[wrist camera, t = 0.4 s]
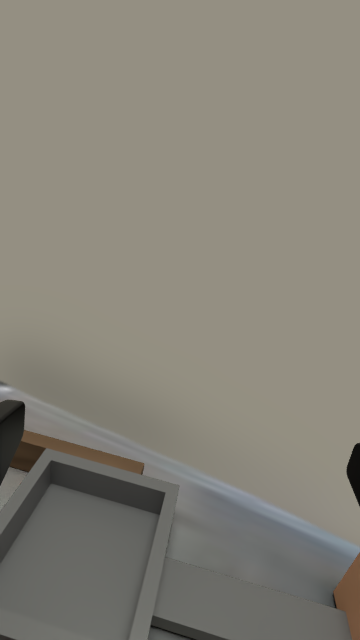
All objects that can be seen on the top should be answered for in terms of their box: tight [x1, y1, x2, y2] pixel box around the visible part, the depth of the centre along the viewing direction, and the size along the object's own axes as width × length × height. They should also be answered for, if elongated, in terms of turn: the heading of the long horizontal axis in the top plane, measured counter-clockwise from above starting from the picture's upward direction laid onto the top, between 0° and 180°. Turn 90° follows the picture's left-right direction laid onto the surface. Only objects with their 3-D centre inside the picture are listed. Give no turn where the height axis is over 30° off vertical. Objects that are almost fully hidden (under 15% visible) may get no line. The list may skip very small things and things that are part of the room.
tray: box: [0, 448, 360, 640], centre depth 18 cm, size 10×22×4 cm, turn 80°
